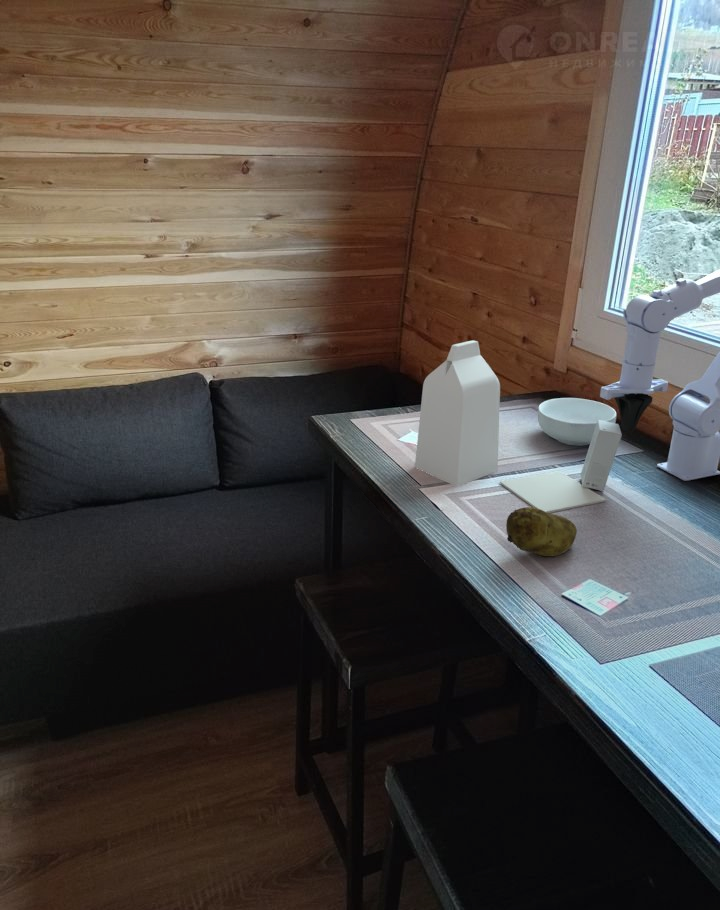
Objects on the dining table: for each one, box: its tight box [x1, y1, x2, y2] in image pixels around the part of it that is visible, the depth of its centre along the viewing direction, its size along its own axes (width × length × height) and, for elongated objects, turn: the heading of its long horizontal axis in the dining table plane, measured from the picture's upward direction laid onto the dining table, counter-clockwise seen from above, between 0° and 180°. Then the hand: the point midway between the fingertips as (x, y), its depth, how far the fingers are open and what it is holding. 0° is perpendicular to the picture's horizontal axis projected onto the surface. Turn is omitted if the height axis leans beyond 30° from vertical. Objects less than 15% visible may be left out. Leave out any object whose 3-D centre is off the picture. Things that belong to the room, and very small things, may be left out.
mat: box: [499, 470, 607, 514], centre depth 147 cm, size 14×14×1 cm
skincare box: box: [580, 420, 623, 492], centre depth 148 cm, size 6×4×12 cm
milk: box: [414, 340, 501, 488], centre depth 151 cm, size 12×12×26 cm
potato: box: [505, 506, 578, 557], centre depth 124 cm, size 8×13×8 cm, turn 99°
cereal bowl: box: [537, 397, 617, 446], centre depth 171 cm, size 17×17×7 cm
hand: (627, 430), depth 149 cm, fingers closed
